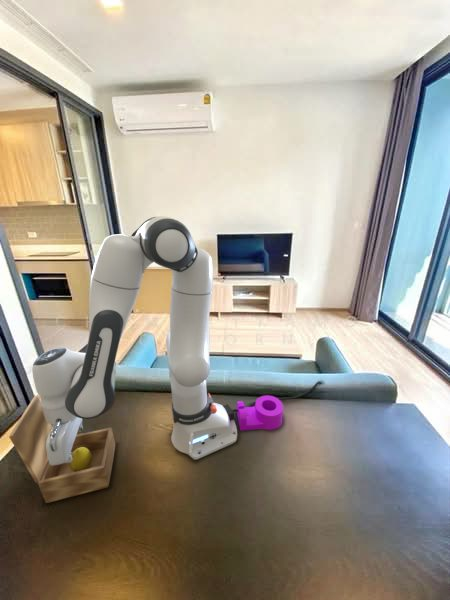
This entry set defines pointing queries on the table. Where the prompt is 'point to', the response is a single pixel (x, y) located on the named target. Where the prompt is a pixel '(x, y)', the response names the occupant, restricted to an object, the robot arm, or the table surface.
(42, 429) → the lid
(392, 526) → the table surface
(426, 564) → the table surface
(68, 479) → the chest
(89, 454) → the lemon
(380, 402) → the table surface
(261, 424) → the magenta bearing bracket
